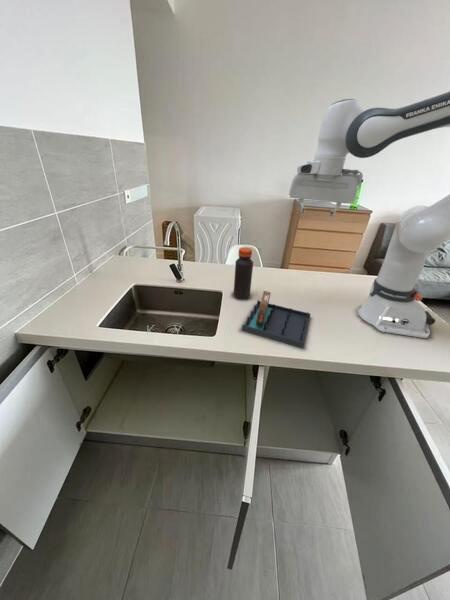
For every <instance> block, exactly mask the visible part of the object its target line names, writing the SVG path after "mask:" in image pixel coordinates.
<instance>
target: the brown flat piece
mask: <svg viewBox="0 0 450 600" xmlns="http://www.w3.org/2000/svg"><path fill="white" fill-rule="evenodd" d="M270 298H271V292H270V291H268V290H267V291H266V290H263V292H262V296H261V299H260V301H261V303H260V307H259V311H258V315H257V320H256V323H257V324H261V325H263V324H264V320H265V315H266V312H267V307H268V303H269V304H270Z"/></svg>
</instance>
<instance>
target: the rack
mask: <svg viewBox="0 0 450 600" xmlns="http://www.w3.org/2000/svg"><path fill="white" fill-rule="evenodd" d="M260 303H261V300H260V299H259V300H258V299H257V300H256V304H255V305H254V306H253V310H251V311H250V315H249V316H247V318H246V321H245V323H244V324H242V327H241V331H243V332H245V333H249V334H254V335H255V336H256V335H257V336H260V337H263V338H267V339H270V340H273V341H277V342H280V343H283V344H287V345H290V346H294V347H297V348H301V349H303V348H304V345H305V341H306V335H307V331H308V326H309V322H310V319H311V313H309V312H306V311H301V310H297V309H293V308H290V307H285V306H281V305H277V304H276V303H274V304H273V303H270V302H269V303H268V307H267V312H266V315H265V320H264V324H263V325H261V324H257V323H256V320H257V315H258V311H259V307H260Z"/></svg>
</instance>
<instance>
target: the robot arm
mask: <svg viewBox="0 0 450 600" xmlns="http://www.w3.org/2000/svg"><path fill="white" fill-rule="evenodd" d="M441 128H442V129H443V128H450V90H448V91H446V92H444V93H441V94H438V95H435V96H432V97H428V98H426V99H423V100H421V101H418V102H414V103H411V104H408V105H405V106H402V107H398V108H387V107H371V108H368V109H367V108H365V107H364V106H363V105H361V104H360V103H359V101H358V100H357V99H355V98H345V99H341V100H337V101H335V102H333V103H331V104H330V105H329V106H328V107H327V108H326V110H325V112H324V115H323V117H322V120H321V125H320V129H319V133H318V137H317V142H318V143H317V149H316V152H315V154H314V158H313V161H308V162H306V163H302V164H299V165H298V166H297V169H296V172H297V174H295V175H294V176H293V177H292V180H291V184H290V188H289V191H288V195H289V197H290V198H291V199H298V204H299V207H300V210H299V214H306V209H307V207H305V206H304V202H305V200H309V201H320V202H329V203H335V206H336V207H335V208H334V209H333V210H330V212H329V216H328V217H329V218H334V217H335V215H336V212H337V211H338V210H339V209H340V208H341V206H342V204H347V205H352V204H353V203H355V201H356V198H357V193H358V187H359V186H360V185H361V184H362V182H363V178H364V175H363V173H362V172H361V171H360V170H359V169H348V168H344V166H345V162H346V158H347V155H348V154H350V155H352V156H353V157H355V158H359V159H366V158H371V157H373V156H375V155H378V154H379V153H380V152H382V151H383V150H384V149H386V148H388V147H389V146H390V145H392V144H393V143H395V142H398V141H400V140H402V139H405V138H409V137H412V136H416V135H419V134H422V133H426V132H429V131H433V130H436V129H437V130H438V129H441ZM449 240H450V193H449V194H448V195H446V196H444V197H443V198H441V199H440V200H438V201H436V202H434V203H433V204H431V205H430V206H428V205H415V206H412V207H410V208H408V209H406V210H405V211H404V212H402V214H401V215H400V216H399V217H398V219H397V221H396V223H395V226H394V229H393V232H392V235H391V238H390V240H389V244H388V247H387V250H386V253H385V256H384V258H383V261H382V264H381V267H380V269H379V271H378V275H377V277H376V278H375V279H374V280H373V282H372V284H371V287H370V289H369V295H368V296H367V298H366V299H365V301H364V303H363V304H362V306H360V308H359V309H358V311H357V313H358V315H359V317H360V318H361V319H362V320H363V321H364V322H366V323H367V324H370V325H371V326H373V327H374V328H376V329H377V330H378V331H379V332H383V333H386V334H387V333H388V334H395V335H402V336H407V337H416V338H422V339H428V338H429V337H430V334H431V330H430V327H429V326H432V325H434V324H435V323H436V319H435V318H434V317H433V316H432V314H430V312H429V311H427V310H425V309H424V308H423V307H422V305H421V304H419V302H420V301H422V300H423V295H422V294H421V293H419V291H418V290H417V289H416V288H415V286H416V284H417V282H418V280H419V278H420V276H421V274H422V272H423V270H424V268H425V264H426V260H427V257H428V253H430V252H434V251H435V250H437V249H438V248H440V247H441V246H442V245H443V244H445V242H448V241H449Z"/></svg>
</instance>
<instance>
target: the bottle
mask: <svg viewBox="0 0 450 600" xmlns="http://www.w3.org/2000/svg"><path fill="white" fill-rule="evenodd" d="M252 254H253V249H252V248H250V247H239V248H238V258H237V259H236V261H235V266H234V267H235V268H234V281H233V297H234V298H236V299H237V300H247V299H248V298H249V299H250V296H251V288H252V278H253V270H254V268H253V267H254V262H253V260H252V259H251V258H252Z"/></svg>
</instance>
